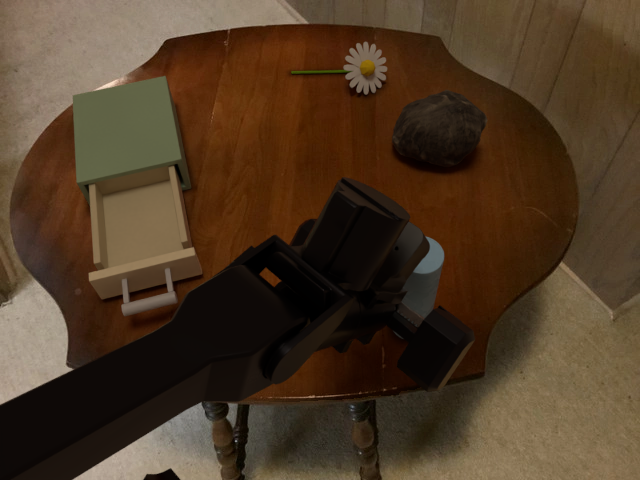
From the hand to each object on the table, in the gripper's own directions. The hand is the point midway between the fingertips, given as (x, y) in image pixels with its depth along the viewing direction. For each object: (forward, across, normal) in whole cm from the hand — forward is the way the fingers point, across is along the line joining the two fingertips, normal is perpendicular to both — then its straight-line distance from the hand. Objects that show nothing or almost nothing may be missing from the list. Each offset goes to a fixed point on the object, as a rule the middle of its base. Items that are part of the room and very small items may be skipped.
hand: (407, 291), depth 61 cm
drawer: (-4, +30, +15) cm, 34 cm away
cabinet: (+3, +46, +9) cm, 47 cm away
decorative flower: (+25, +34, -12) cm, 44 cm away
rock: (+24, +15, -11) cm, 30 cm away
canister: (+7, 0, +5) cm, 9 cm away
